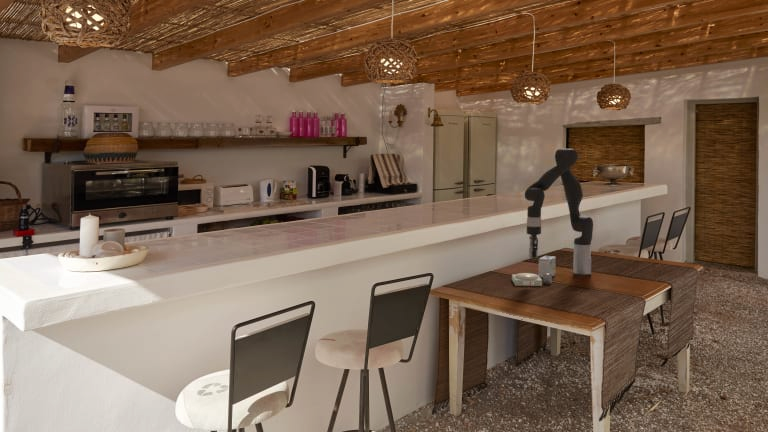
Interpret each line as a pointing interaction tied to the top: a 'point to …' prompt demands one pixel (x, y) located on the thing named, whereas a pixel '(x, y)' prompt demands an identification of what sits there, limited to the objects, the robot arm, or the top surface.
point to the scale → (526, 279)
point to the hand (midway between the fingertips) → (533, 256)
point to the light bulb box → (547, 265)
